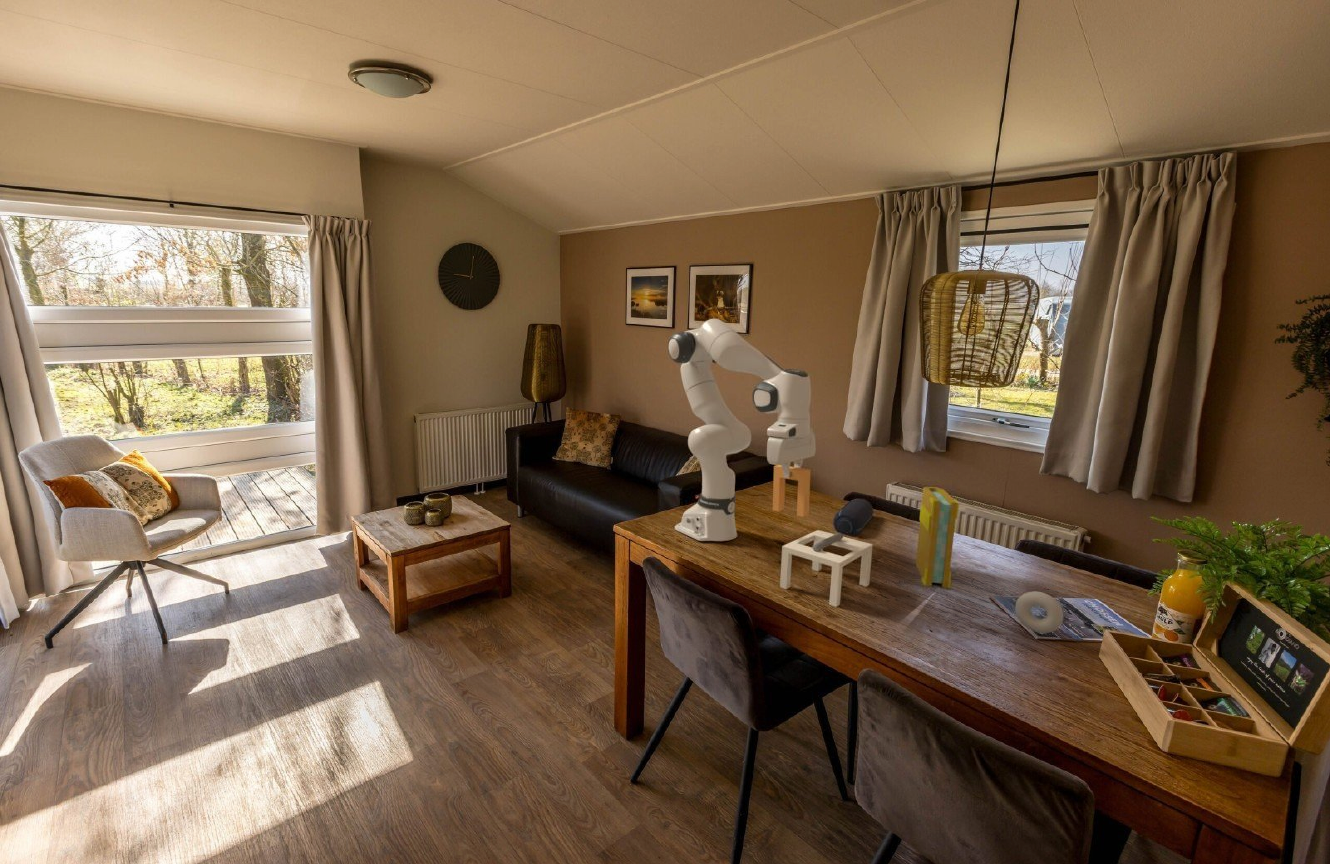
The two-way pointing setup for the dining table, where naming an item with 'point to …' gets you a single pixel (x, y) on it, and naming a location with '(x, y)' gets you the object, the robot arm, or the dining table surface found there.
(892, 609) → the dining table surface
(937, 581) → the book
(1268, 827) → the dining table surface
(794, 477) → the orange arch
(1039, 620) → the donut
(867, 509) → the portable speaker
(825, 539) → the white miniature table
